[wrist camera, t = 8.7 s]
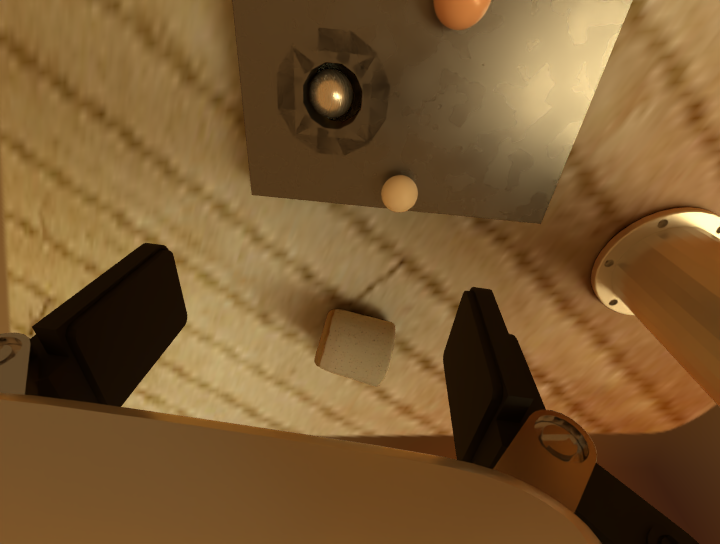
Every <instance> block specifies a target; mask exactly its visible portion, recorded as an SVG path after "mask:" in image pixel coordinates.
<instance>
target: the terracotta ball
mask: <svg viewBox="0 0 720 544" xmlns="http://www.w3.org/2000/svg"><path fill="white" fill-rule="evenodd" d="M433 3H434V9H435V13H436V15H437V17H438V19H439V21H440V22H441V23H442V24H443V25H444V26H446V27H447V28H449V29H452V30H464V29H467V28H470V27H471V26H473V25H475V24H476V23H477V22H478V21H479V20H480V19H481V18H482V17H483V16H484V15H485V13H486V11H487V10H488V8H489V5H490V3H491V0H433Z"/></svg>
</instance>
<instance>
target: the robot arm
mask: <svg viewBox="0 0 720 544" xmlns="http://www.w3.org/2000/svg"><path fill="white" fill-rule="evenodd" d="M591 284H592V288H593V291H594V293H595V295H596V296H597V297H598V298H599V300H600V301H601V302H602V303H603V304H604V305H605V306H606V307H607V308H609V309H611V310H613V311H615V312H618V313H622V314H625V315H635V316H636V317H637V318H638V319H639V320H640V321H641V322H642V323H643V325H644V326H645V327H646V328H647V329H648V330H649V331H650V332H651V333H652V334H653V335H654V336H655V338H656V339H657V340H658V341H659V342H660V343H661V344H662V345H663V346H664V347H665V348H666V349H667V351H668V352H669V353H670V354H671V355H672V356H673V357H674V358H675V359H676V360H677V361H678V362H679V364H680V365H681V366H682V367H683V368H684V369H685V370H686V371H687V372H688V373H689V374H690V375H691V377H692V378H693V379H694V380H695V381H696V382H697V383H698V384H699V385H700V386H701V387H702V388H703V390H704V391H705V392H706V393H707V394H708V395H709V396H710V397H711V398H712V399H713V400H714V401H715V403H716V404H717V405H718V406H720V216H719V215H717V214H715V213H713V212H711V211H708V210H704V209H701V208H691V207H685V208H673V209H669V210H664V211H660V212H657V213H654V214H652V215H649V216H646V217H644V218H642V219H640V220H638V221H636V222H634V223H632V224H631V225H629V226H628V227H626V228H625V229H623V230H622V231H620V232H619V233H618V234H617V235H616V236H615V237H614V238H612V239H611V240H610V241H609V242H608V243H607V245H606V246H605V247H604V248H603V249H602V251H601V252H600V254H599V255H598V257H597V259H596V260H595V263H594V266H593V269H592V274H591ZM186 322H187V312H186V307H185V303H184V299H183V295H182V290H181V286H180V282H179V277H178V273H177V269H176V265H175V260H174V256H173V253H172V252H171V251H169V250H168V248H167V247H166V246H164V245H158V244H150V243H144V244H142V245H141V246H140V247H138V248H137V249H135V250H134V251H133V252H131V253H130V254H129V255H127V256H126V257H125V258H123V259H122V260H121V261H119V262H118V263H117V264H115V265H114V266H113V267H111V268H110V269H109V270H107V271H106V272H105V273H103V274H102V275H101V276H99V277H98V278H97V279H95V280H94V281H93V282H91V283H90V284H89V285H87V286H86V287H85V288H83V289H82V290H81V291H79V292H78V293H76V294H75V295H74V296H72V297H71V298H70V299H68V300H67V301H66V302H64V303H63V304H62V305H60V306H59V307H58V308H56V309H55V310H54V311H52V312H51V313H50V314H48V315H47V316H46V317H44V318H43V319H42V320H40V321H39V322H38V323H36V324H35V325H34V326H32V328H33V329H34V331H35V333H36V335H35V336H34V337H32V338H31V339H30V338H29V337H27V336H26V335H25V334H20V333H3V334H0V544H699V543H698V542H697V541H696V540H694V539H693V538H692V537H691V536H690V535H689V534H688V533H686V532H685V531H684V530H682V529H681V528H680V527H678V526H677V525H676V524H675V523H673V522H672V521H671V520H670V519H668V518H667V517H666V516H664V515H663V514H662V513H660V512H659V511H658V510H657V509H655V508H654V507H653V506H651V505H650V504H649V503H647V502H646V501H645V500H643V499H642V498H641V497H640V496H639V495H637V494H636V493H635V492H633V491H632V490H631V489H629V488H628V487H627V486H625V485H624V484H623V483H622V482H620V481H619V480H618V479H617V478H615V477H614V476H612V475H611V474H610V473H609V472H608V471H606V470H604V468H602V467H601V466H599V465H598V464H597V463H596V459H597V452H596V448H595V445H594V443H593V441H592V439H591V438H590V436H589V435H588V434H587V432H586V431H585V430H584V429H583V428H582V427H581V426H580V425H579V424H578V423H576V422H575V421H574V420H572V419H571V418H569V417H567V416H565V415H564V414H562V413H559V412H556V411H553V410H546V409H545V406H544V404H543V402H542V399H541V397H540V394H539V392H538V389H537V387H536V384H535V382H534V380H533V377H532V375H531V372H530V370H529V367H528V365H527V362H526V360H525V358H524V355H523V353H522V350H521V348H520V345H519V343H518V340H517V339H516V337H515V336H514V335H512V334H509V333H508V331H507V328H506V326H505V323H504V320H503V318H502V315H501V313H500V310H499V307H498V305H497V302H496V300H495V297H494V294H493V292H492V290H490V289H483V288H476V287H472V288H471V289H470V291H464V293H463V295H462V298H461V302H460V305H459V308H458V311H457V314H456V317H455V320H454V323H453V326H452V329H451V332H450V335H449V338H448V341H447V344H446V347H445V351H444V356H443V364H444V371H445V378H446V385H447V392H448V399H449V406H450V413H451V421H452V428H453V435H454V442H455V449H456V456H457V460H455V459H450V458H446V457H441V456H435V455H429V454H424V453H418V452H412V451H406V450H400V449H394V448H389V447H383V446H377V445H370V444H363V443H357V442H351V441H345V440H337V439H332V438H325V437H319V436H312V435H306V434H300V433H293V432H287V431H280V430H273V429H267V428H260V427H253V426H247V425H240V424H234V423H227V422H220V421H213V420H207V419H200V418H193V417H187V416H180V415H173V414H166V413H159V412H152V411H145V410H138V409H131V408H124V407H121V406H122V405H123V403H124V402H125V401H126V400H127V398H128V397H129V396H130V394H131V393H132V392H133V391H134V389H135V388H136V387H137V386H138V384H139V383H140V382H141V380H142V379H143V378H144V377H145V375H146V374H147V373H148V372H149V370H150V369H151V368H152V366H153V365H154V364H155V363H156V361H157V360H158V359H159V358H160V356H161V355H162V354H163V353H164V351H165V350H166V349H167V347H168V346H169V345H170V344H171V342H172V341H173V340H174V339H175V337H176V336H177V335H178V333H179V332H180V331H181V330H182V328H183V327H184V326H185V324H186Z"/></svg>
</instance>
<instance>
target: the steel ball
mask: <svg viewBox="0 0 720 544" xmlns="http://www.w3.org/2000/svg"><path fill="white" fill-rule="evenodd" d="M309 96H310V101H311V103H312V105H313V107H314V109H315V110H316V111H317V112H318V113H319V114H321V115H322V116H324V117H327V118H337V117H340V116H342V115H343V114H345V113H346V112H347V111H348V109H349V108H350V106H351V103H352V100H353V89H352V85H351V83H350V81H349V79H348V78H347V77H346V76H345V75H344V74H343V73H342V72H340V71H338V70H335V69H326V70H323V71H321V72H319V73H318V74H317V75H316V76H315V77H314V78H313V80H312V82H311V85H310V89H309Z"/></svg>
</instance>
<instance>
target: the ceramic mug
mask: <svg viewBox="0 0 720 544" xmlns="http://www.w3.org/2000/svg"><path fill="white" fill-rule="evenodd" d="M394 342H395V325H394V323H392V322H389V321H384V320H381V319H377V318H373V317H369V316H365V315H361V314H357V313H353V312H350V311H346V310H340V309H333V310H331V311H329V312H328V315H327V318H326V321H325V325H324V328H323V331H322V335H321V338H320V342H319V345H318V348H317V352H316V356H315V360H314V361H315V363H316V365H317V366H319V367H320V368H322V369H324V370H326V371H329V372H332V373H335V374H338V375H342V376H345V377H348V378H351V379H354V380H357V381H360V382H363V383H366V384H369V385H372V386H379V385H380V384H381V383H382V381H383V380H384V378H385V375H386V373H387V371H388V368H389V365H390V362H391V358H392V353H393V349H394Z"/></svg>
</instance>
